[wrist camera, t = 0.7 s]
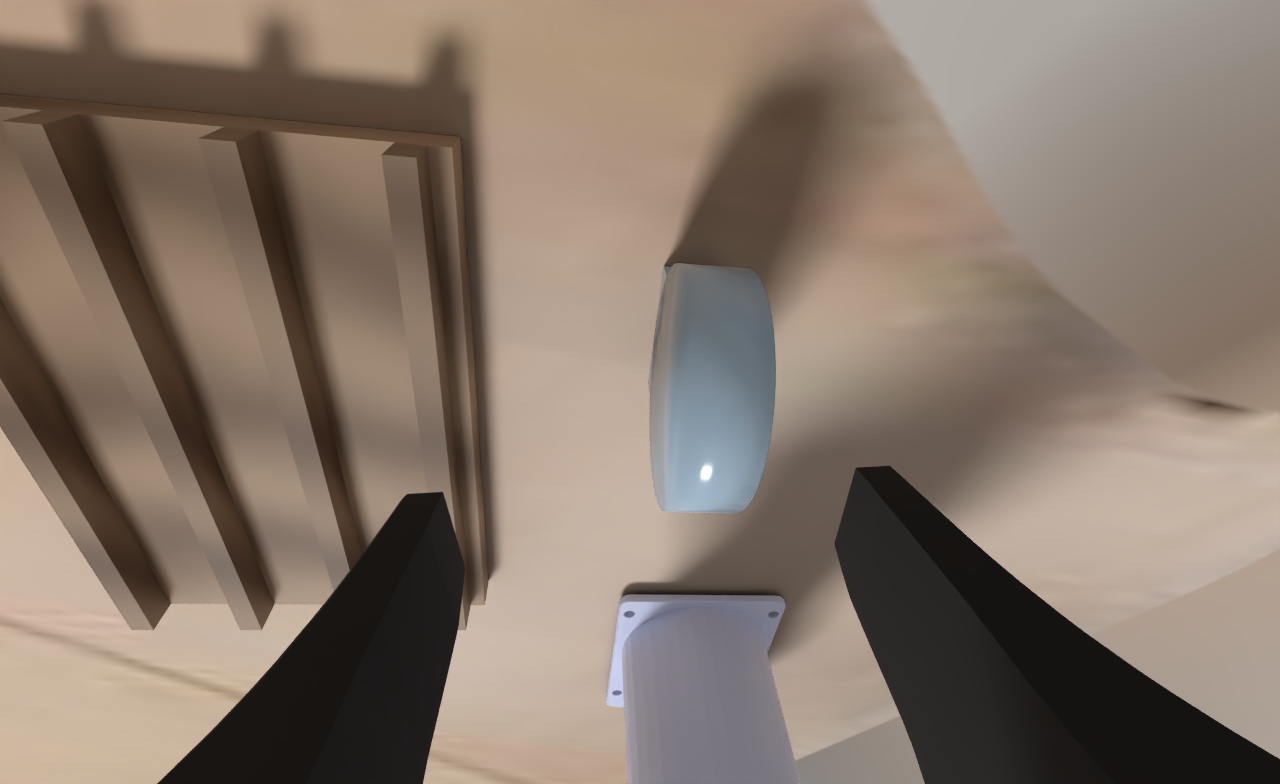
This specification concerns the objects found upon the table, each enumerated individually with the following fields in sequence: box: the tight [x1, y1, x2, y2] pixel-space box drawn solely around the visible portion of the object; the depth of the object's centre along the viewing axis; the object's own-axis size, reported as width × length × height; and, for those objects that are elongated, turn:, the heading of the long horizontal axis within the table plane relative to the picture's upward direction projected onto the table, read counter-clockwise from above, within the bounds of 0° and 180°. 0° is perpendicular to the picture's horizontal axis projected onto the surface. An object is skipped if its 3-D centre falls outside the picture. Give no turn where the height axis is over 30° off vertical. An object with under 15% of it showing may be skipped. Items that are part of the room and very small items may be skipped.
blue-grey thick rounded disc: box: [648, 263, 776, 513], centre depth 17 cm, size 7×2×7 cm, turn 174°
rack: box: [0, 94, 488, 630], centre depth 20 cm, size 19×14×2 cm
